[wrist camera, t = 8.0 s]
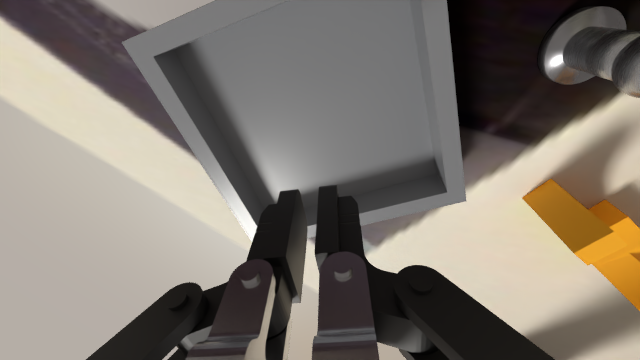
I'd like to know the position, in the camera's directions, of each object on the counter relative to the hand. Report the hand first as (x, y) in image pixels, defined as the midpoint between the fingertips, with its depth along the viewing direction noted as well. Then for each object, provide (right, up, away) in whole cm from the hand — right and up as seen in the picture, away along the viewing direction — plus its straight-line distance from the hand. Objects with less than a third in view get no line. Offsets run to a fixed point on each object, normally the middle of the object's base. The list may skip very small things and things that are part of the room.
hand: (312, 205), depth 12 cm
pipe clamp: (+24, -2, +14) cm, 28 cm away
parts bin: (0, +6, +10) cm, 11 cm away
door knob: (+17, +10, +7) cm, 20 cm away
